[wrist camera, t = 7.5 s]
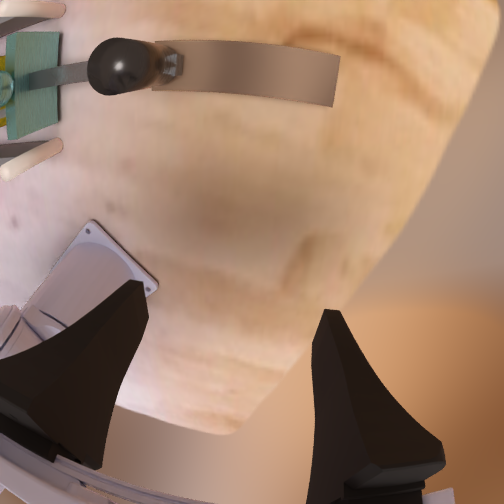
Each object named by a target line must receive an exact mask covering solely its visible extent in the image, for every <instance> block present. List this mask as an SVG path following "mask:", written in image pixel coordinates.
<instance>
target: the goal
mask: <svg viewBox="0 0 504 504" xmlns="http://www.w3.org/2000/svg"><path fill="white" fill-rule="evenodd" d="M65 10H66V7H65V5H64V4H60V3H52V2H44V1H34V0H2V1H1V3H0V37H3V36H5V35H7V34H10V33H12V32H15V31H17V30H20V29H22V28H25V27H27V26H30V25H33V24H36V23H38V22H41V21H44V20H47V19H50V18H60V17H62V16H63V14H64V13H65ZM62 148H63V143H62V141H61V140H60V139H59V138H55V139H52V140H50V141H38V142H25V143H14V144H4V145H0V176H1V178H2V180H3V181H5V182H9V181H10V180H12V179H13V178H15V177H17V176H18V175H20V174H22V173H23V172H25V171H27V170H28V169H30V168H32V167H33V166H35V165H37V164H39V163H41V162H42V161H44V160H46V159H48V158H50V157H51V156H53V155H55V154H57V153H59V152H61V151H62Z"/></svg>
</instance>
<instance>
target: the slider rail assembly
mask: <svg viewBox="0 0 504 504" xmlns="http://www.w3.org/2000/svg"><path fill="white" fill-rule="evenodd" d="M58 44H59V32H16V33H14V34H11V35H9V36H7V42H6V57H5V71H2V70H0V108H1V107H3V106H4V105H5V107H6V123H7V135H8V140H14V139H19V138H21V137H23V136H26V135H28V134H30V133H33V132H35V131H38V130H40V129H42V128H45V127H48V126H50V125H53V124H55V123H58V115H57V85H63V84H70V83H77V82H85V81H89V83H90V84H91V86H92V87H93V89H94V90H96V91H97V92H98V93H100V94H103V95H117V94H121V93H126V92H131V91H136V90H141V89H147V88H152V87H158V86H163V85H165V84H167V83H169V82H170V81H172V80H173V79H174V77H175V76H182V69H183V57H184V55H181V54H177V53H176V52H175V50H174V49H172V48H171V47H169V46H167V45H162V44H157V43H151V42H145V41H139V40H132V39H125V38H111V39H108V40H106V41H104V42H102V43H101V44H99V45H98V46H97V47H96V48H95V49H94V51H93V52H92V54H91V56H90V58H89V61H86V62H80V63H74V64H69V65H64V66H59V67H57V62H58Z"/></svg>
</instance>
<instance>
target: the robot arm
mask: <svg viewBox="0 0 504 504" xmlns="http://www.w3.org/2000/svg"><path fill="white" fill-rule="evenodd" d="M88 229H89V230H90V231H91V232H90V231H89V230H88ZM147 287H149V288H150V289H149V288H147ZM157 288H158V283H157V282H156V281H155V280H154V279H153V278H152V277H151V276H150V275H149V274H148V273H147V272H146V271H144V270H143V269H142V268H141V267H140V266H139V265H138V264H137V263H136V262H135V261H134V260H133V259H132V258H131V257H130V256H129V255H128V254H127V253H126V252H125V251H124V250H123V249H122V248H121V247H120V246H119V245H118V244H117V243H116V242H115V241H114V240H113V239H112V238H111V237H110V236H109V235H108V234H107V233H106V232H105V231H104V230H103V229H102V228H101V227H100V226H99V225H98V224H97V223H96V222H95V221H92V220H91V221H89V222H88V223H87V224H86V225H85V226H84V228H83V229H82V230H81V231H80V233H79V234H78V235H77V236H76V238H75V239H74V240H73V242H72V243H71V244H70V245H69V247H68V248H67V249H66V251H65V252H64V253H63V255H62V256H61V257H60V259H59V260H58V261H57V263H56V264H55V266H54V267H53V268H52V270H51V271H50V273H49V276H48V277H47V278H46V280H45V281H44V282H43V283H42V284H41V286H40V287H39V288H38V289H37V290H36V292H35V293H34V294H33V295H32V297H31V298H30V299H29V300H28V302H27V303H26V304H25V306H24V307H23V308H22V309H21V310H19V309H18V307H17V306H16V305H12V306H6V305H5V306H3V307H1V308H0V494H1V492H2V491H3V490H4V488H6V489H8V490H9V491H10V492H12V493H13V494H14V495H16V496H17V497H19V498H20V499H22V500H23V501H25V502H26V503H27V504H118V503H116V502H114V501H112V500H111V499H109V498H108V497H105V496H103V495H101V494H98V493H96V492H94V491H92V490H89V489H87V488H86V486H85V485H88V486H90V487H93V488H95V489H98V490H100V491H103V492H106V493H108V494H111V495H113V496H116V497H119V498H122V499H125V500H128V501H131V502H134V503H137V504H214V503H208V502H203V501H197V500H192V499H188V498H183V497H178V496H174V495H170V494H166V493H162V492H158V491H154V490H151V489H147V488H144V487H140V486H137V485H134V484H131V483H128V482H124V481H121V480H119V479H116V478H113V477H110V476H108V475H105V474H102V473H99V472H97V471H95V470H98V469H100V468H102V461H103V455H104V449H105V443H106V438H107V433H108V428H109V424H110V420H111V416H112V412H113V408H114V405H115V402H116V398H117V395H118V392H119V389H120V386H121V383H122V381H123V379H124V376H125V374H126V372H127V370H128V368H129V365H130V363H131V361H132V359H133V357H134V355H135V353H136V350H137V348H138V346H139V344H140V342H141V340H142V337H143V334H144V331H145V328H146V325H147V322H148V319H149V315H148V309H147V303H146V297H148V296H149V295H150V294H152V293H153V292H155V291H156V290H157ZM311 361H312V362H311V367H312V381H313V394H314V407H315V431H314V446H313V458H312V467H311V475H310V482H309V489H308V495H307V500H306V504H455V500H454V492H453V488H448V489H444V490H440V491H436V492H432V493H429V494H425V495H423V496H422V491H421V490H422V489H424V488H425V481H424V480H425V479H427V478H429V477H430V476H432V475H434V474H436V473H437V472H439V471H440V470H442V469H443V468H444V467H445V465H446V460H445V454H444V449H443V446H442V442H441V441H440V440H438V439H437V438H436V437H435V436H433V435H432V434H431V433H429V432H428V431H427V430H426V429H425V428H423V427H422V426H421V425H420V424H419V423H418V422H417V421H416V420H415V419H414V418H412V416H411V415H409V413H407V412H406V410H405V409H404V408H403V407H402V406H401V405H400V404H399V403H398V402H397V401H396V399H395V398H394V397H393V396H392V395H391V394H390V392H389V391H388V390H387V389H386V387H385V386H384V385H383V383H382V382H381V381H380V379H379V378H378V376H377V375H376V373H375V372H374V370H373V369H372V367H371V366H370V365H369V363H368V361H367V359H366V358H365V356H364V354H363V353H362V351H361V350H360V348H359V346H358V344H357V343H356V340H355V339H354V337H353V335H352V333H351V331H350V329H349V328H348V326H347V324H346V322H345V320H344V318H343V316H342V314H341V312H340V311H339V310H330V309H324V312H323V314H322V317H321V320H320V323H319V326H318V328H317V331H316V334H315V336H314V339H313V342H312V360H311Z"/></svg>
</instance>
